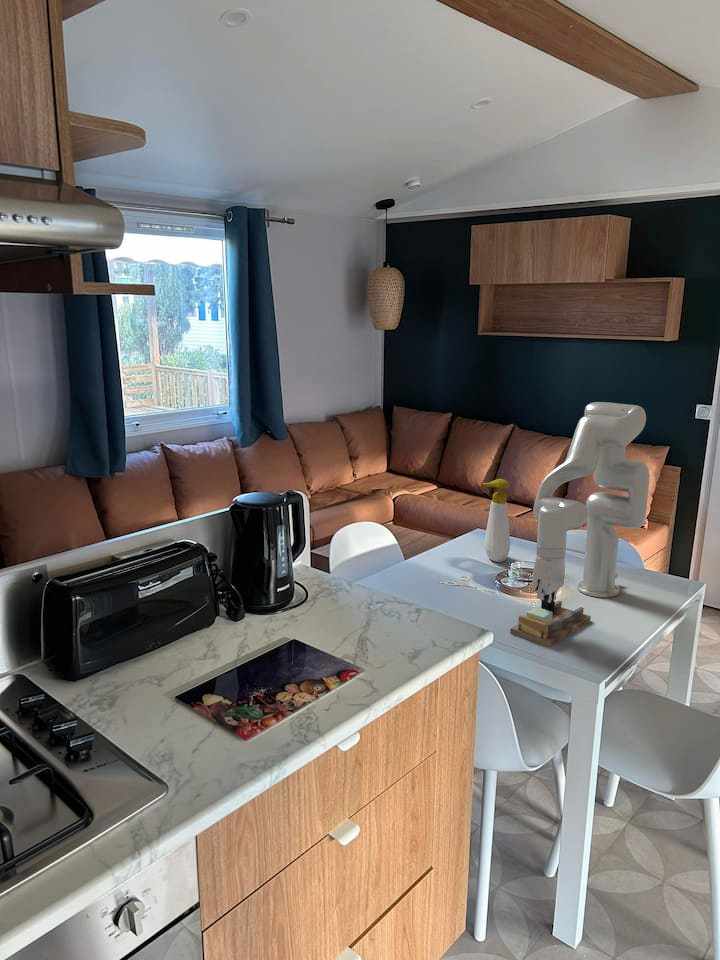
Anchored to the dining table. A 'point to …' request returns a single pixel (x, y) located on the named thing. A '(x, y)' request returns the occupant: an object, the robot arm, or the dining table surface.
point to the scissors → (468, 585)
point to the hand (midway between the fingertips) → (547, 613)
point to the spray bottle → (498, 524)
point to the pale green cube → (541, 615)
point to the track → (551, 626)
